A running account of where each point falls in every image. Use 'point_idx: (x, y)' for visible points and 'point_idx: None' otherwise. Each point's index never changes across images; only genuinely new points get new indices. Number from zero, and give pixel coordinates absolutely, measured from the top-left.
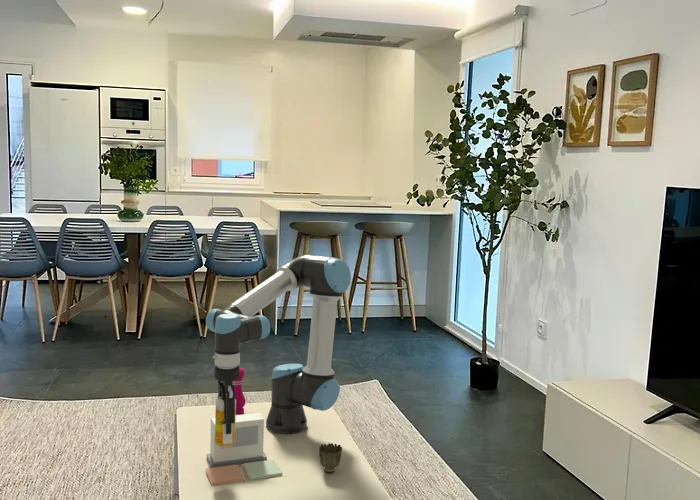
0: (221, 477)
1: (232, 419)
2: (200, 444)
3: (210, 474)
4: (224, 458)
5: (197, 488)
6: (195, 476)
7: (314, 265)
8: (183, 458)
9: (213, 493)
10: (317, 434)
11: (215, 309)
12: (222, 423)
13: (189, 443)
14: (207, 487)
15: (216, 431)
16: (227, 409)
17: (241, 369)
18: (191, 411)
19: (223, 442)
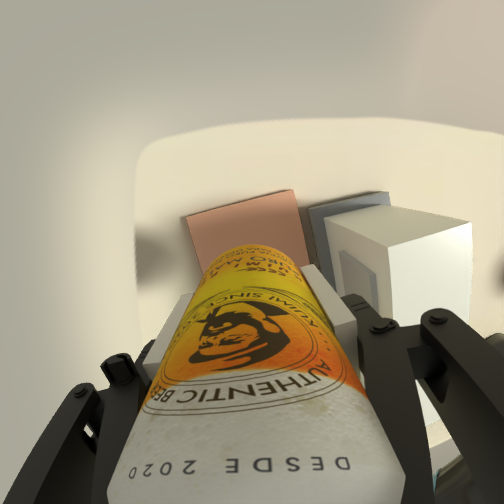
0: (222, 246)
1: (98, 437)
2: (459, 176)
3: (245, 209)
4: (332, 255)
5: (170, 175)
6: (253, 159)
7: None
8: (383, 121)
9: (139, 226)
10: (427, 427)
11: None
12: (108, 359)
13: (464, 147)
14: (175, 205)
15: (215, 275)
16: (30, 469)
17: None
18: None
19: (179, 300)
